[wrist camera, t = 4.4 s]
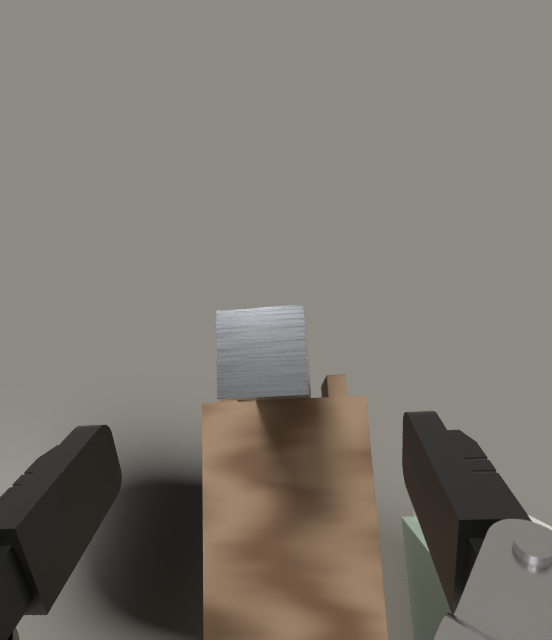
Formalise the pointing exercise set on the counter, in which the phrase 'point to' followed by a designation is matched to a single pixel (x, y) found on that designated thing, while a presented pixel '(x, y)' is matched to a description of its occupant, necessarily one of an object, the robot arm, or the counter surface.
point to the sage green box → (425, 581)
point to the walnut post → (291, 520)
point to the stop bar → (262, 354)
